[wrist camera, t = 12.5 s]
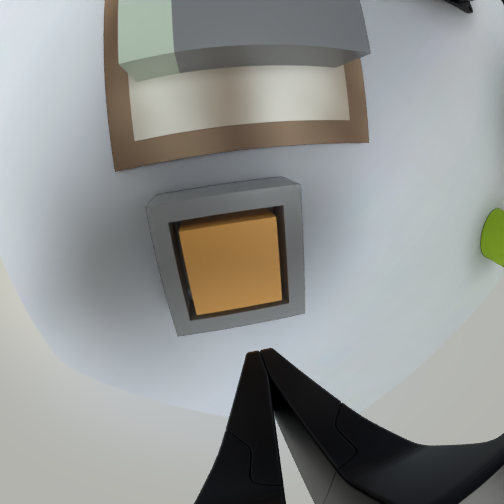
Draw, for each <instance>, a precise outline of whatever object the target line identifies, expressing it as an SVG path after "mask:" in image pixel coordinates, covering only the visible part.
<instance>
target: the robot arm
mask: <svg viewBox="0 0 504 504" xmlns="http://www.w3.org/2000/svg"><path fill="white" fill-rule="evenodd" d="M446 1H448V2H450V3H452V4H454V5H455V6H457V7H459V8H461V9H463V10H464V11H466V12H468V13H473V10H472V7H471V4H470V1H473V0H446ZM501 1H502V2H503V4H504V0H501ZM274 416H275V418H276V420H277V423H278V425H279V427H280V430H281V432H282V434H283V436H284V438H285V441H286V443H287V445H288V448H289V450H290V452H291V454H292V457H293V459H294V461H295V463H296V465H297V468H298V470H299V472H300V474H301V476H302V478H303V480H304V483H305V484H306V487H307V489H308V491H309V493H310V495H311V497H312V499H313V501H314V503H315V504H504V433H503V434H502V435H501V436H499V437H498V438H496V439H494V440H491V441H488V442H483V443H475V444H463V445H440V446H439V445H438V446H428V445H421V444H417V443H414V442H411V441H409V440H407V439H404V438H402V437H400V436H398V435H396V434H394V433H392V432H390V431H388V430H386V429H384V428H382V427H380V426H378V425H377V424H375V423H373V422H371V421H369V420H368V419H366V418H364V417H362V416H361V415H359V414H358V413H356V412H355V411H353V410H352V409H351V408H349V407H348V406H346V405H345V404H344V403H341V401H340V400H338V399H337V398H335V397H334V396H333V395H331V394H330V393H329V392H327V391H326V390H325V389H324V388H322V387H321V386H320V385H318V384H317V383H316V382H314V381H313V380H312V379H310V378H309V377H308V376H307V375H305V374H304V373H303V372H302V371H300V370H299V369H298V368H296V367H295V366H294V365H293V364H291V363H290V362H289V361H288V360H286V359H285V358H284V357H283V356H281V355H280V354H279V353H278V352H277V351H275V350H274V349H273V348H268V349H263V350H261V351H260V352H259V351H253V352H248V353H247V354H246V357H245V361H244V365H243V368H242V372H241V376H240V380H239V383H238V387H237V391H236V394H235V398H234V402H233V405H232V409H231V413H230V416H229V420H228V423H227V427H226V431H225V434H224V437H223V441H222V444H221V447H220V450H219V453H218V455H217V458H216V460H215V462H214V465H213V467H212V469H211V471H210V474H209V475H208V478H207V479H206V481H205V483H204V485H203V488H202V489H201V491H200V493H199V495H198V497H197V499H196V501H195V503H194V504H286V501H285V493H284V487H283V478H282V471H281V464H280V456H279V448H278V441H277V433H276V426H275V418H274Z"/></svg>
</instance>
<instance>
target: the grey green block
mask: <svg viewBox="0 0 504 504" xmlns="http://www.w3.org/2000/svg"><path fill="white" fill-rule="evenodd" d="M368 54H370V47H369V41H368V36H367V31H366V26H365V21H364V17H363V12H362V8H361V4H360V0H118V61H119V65H120V66H121V67H122V68H123V69H124V70H125V71H126V72H127V73H128V74H129V75H130V76H131V77H132V78H133V79H134V80H135V81H136V82H137V81H142V80H146V79H151V78H156V77H161V76H167V75H172V74H178V73H185V72H192V71H199V70H208V69H217V68H228V67H242V66H266V65H296V66H320V67H334V68H337V67H340V66H342V65H344V64H346V63H349V62H351V61H353V60H356V59H358V58H360V57H363V56H365V55H368Z"/></svg>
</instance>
